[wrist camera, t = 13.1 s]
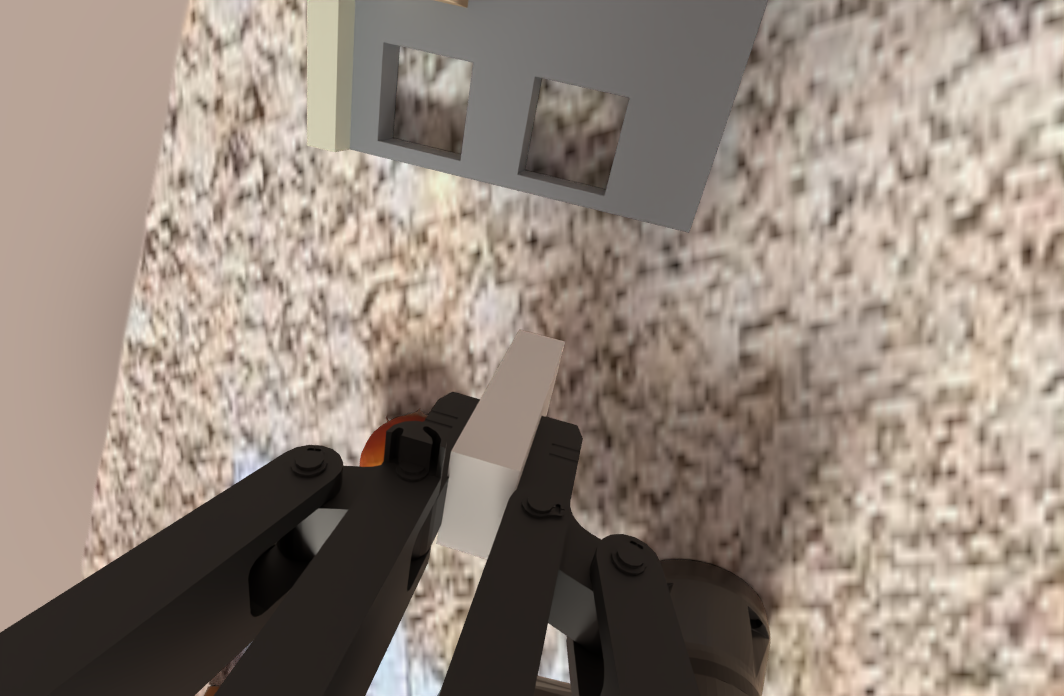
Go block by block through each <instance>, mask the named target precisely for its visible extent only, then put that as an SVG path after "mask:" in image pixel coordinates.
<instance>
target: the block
mask: <svg viewBox="0 0 1064 696" xmlns="http://www.w3.org/2000/svg"><path fill="white" fill-rule="evenodd" d="M435 1H439V2H443V3H448V4H452V5H456V6H461V7H465V8H467V7H468V0H435Z"/></svg>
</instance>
